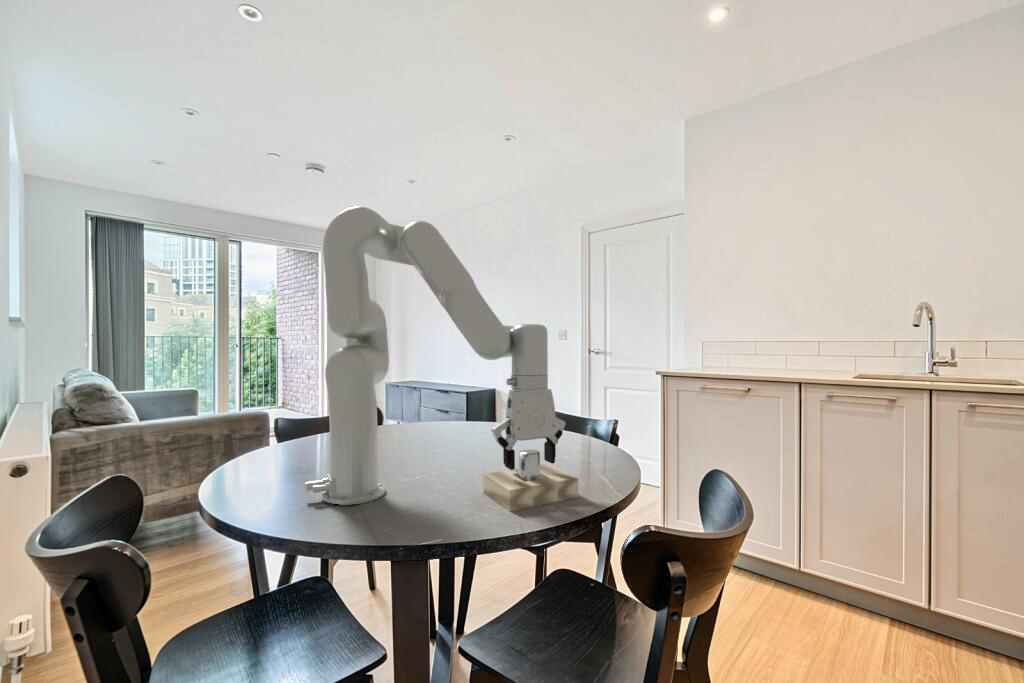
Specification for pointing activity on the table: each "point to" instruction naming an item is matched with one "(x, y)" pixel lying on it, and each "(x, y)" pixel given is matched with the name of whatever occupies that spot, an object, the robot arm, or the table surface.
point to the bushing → (529, 465)
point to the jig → (530, 488)
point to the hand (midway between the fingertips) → (530, 464)
